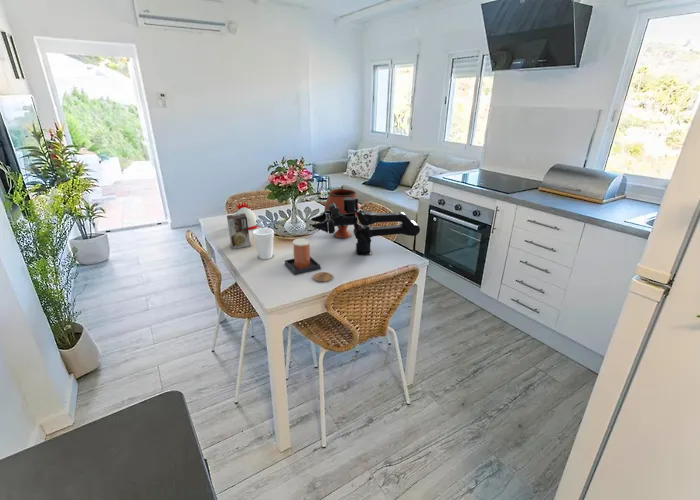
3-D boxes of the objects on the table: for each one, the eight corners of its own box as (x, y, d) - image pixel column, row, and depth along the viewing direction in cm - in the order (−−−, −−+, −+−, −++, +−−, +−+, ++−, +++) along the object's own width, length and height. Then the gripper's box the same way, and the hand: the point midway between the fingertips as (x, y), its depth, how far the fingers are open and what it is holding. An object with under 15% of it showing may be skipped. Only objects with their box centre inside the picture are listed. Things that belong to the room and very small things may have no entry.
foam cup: (265, 262, 163) (263, 236, 157) (251, 257, 167) (248, 232, 162) (279, 255, 170) (277, 230, 165) (265, 251, 174) (263, 226, 169)
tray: (309, 258, 167) (309, 255, 166) (320, 268, 157) (320, 265, 156) (284, 264, 161) (284, 260, 160) (294, 274, 152) (294, 271, 151)
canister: (310, 261, 163) (309, 238, 158) (310, 269, 156) (309, 244, 151) (294, 262, 162) (293, 238, 157) (293, 269, 155) (292, 244, 150)
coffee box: (248, 242, 185) (245, 212, 178) (250, 246, 180) (247, 216, 173) (230, 244, 181) (226, 215, 175) (232, 249, 176) (228, 218, 169)
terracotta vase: (331, 228, 206) (331, 186, 196) (362, 231, 202) (364, 189, 192) (320, 239, 190) (319, 194, 180) (354, 243, 185) (355, 197, 175)
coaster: (331, 273, 154) (331, 271, 153) (332, 281, 146) (332, 280, 146) (313, 273, 153) (313, 272, 153) (313, 282, 145) (313, 281, 145)
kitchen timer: (234, 223, 212) (231, 199, 206) (258, 221, 215) (255, 198, 209) (233, 231, 199) (230, 205, 193) (258, 229, 202) (255, 204, 196)
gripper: (341, 198, 172) (309, 200, 170) (345, 209, 155) (310, 212, 153) (342, 219, 176) (311, 222, 175) (347, 232, 159) (312, 235, 158)
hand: (311, 222), depth 165 cm, fingers open, 9 cm apart
